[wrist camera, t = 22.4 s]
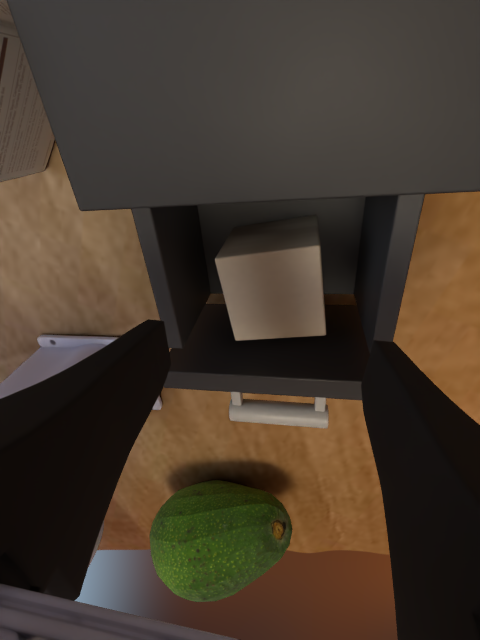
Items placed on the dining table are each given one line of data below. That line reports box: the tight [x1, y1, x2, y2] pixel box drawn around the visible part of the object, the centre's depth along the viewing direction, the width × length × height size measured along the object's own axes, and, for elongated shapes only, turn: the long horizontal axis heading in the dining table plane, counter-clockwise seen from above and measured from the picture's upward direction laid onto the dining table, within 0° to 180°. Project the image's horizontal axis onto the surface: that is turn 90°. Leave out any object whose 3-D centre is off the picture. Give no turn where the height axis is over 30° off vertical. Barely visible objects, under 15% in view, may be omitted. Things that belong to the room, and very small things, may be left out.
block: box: [215, 215, 326, 341], centre depth 16 cm, size 4×4×4 cm
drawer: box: [131, 194, 425, 428], centre depth 16 cm, size 18×11×7 cm, turn 5°
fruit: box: [150, 480, 292, 602], centre depth 31 cm, size 15×10×10 cm, turn 120°
